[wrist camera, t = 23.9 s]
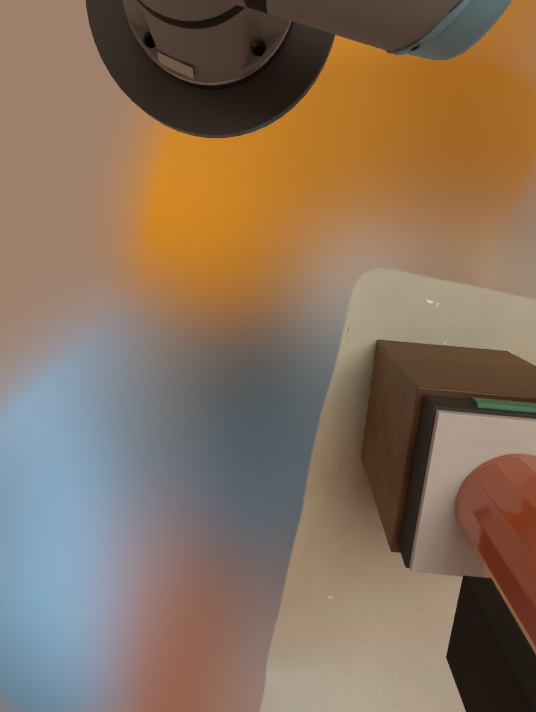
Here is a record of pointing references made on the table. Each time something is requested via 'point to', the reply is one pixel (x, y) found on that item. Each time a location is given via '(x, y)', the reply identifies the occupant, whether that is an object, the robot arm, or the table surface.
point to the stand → (404, 403)
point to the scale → (455, 474)
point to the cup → (504, 530)
